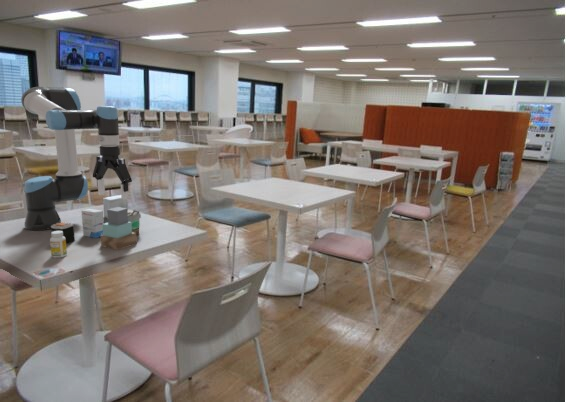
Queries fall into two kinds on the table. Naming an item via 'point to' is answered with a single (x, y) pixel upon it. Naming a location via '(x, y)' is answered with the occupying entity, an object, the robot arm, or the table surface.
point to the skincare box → (113, 203)
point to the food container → (134, 221)
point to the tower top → (117, 230)
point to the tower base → (118, 241)
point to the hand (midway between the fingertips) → (113, 196)
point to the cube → (117, 216)
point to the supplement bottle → (58, 244)
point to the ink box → (92, 222)
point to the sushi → (65, 231)
